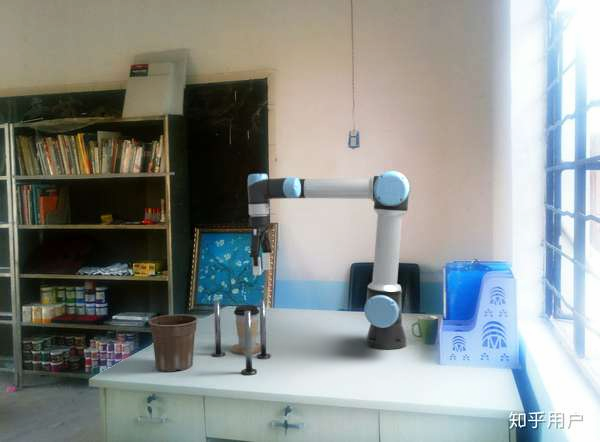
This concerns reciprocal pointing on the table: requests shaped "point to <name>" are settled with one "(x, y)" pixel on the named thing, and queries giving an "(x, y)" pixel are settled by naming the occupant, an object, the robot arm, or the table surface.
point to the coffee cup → (241, 324)
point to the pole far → (217, 331)
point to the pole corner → (263, 332)
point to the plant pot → (173, 341)
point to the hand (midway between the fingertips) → (262, 272)
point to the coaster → (238, 350)
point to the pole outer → (248, 346)
